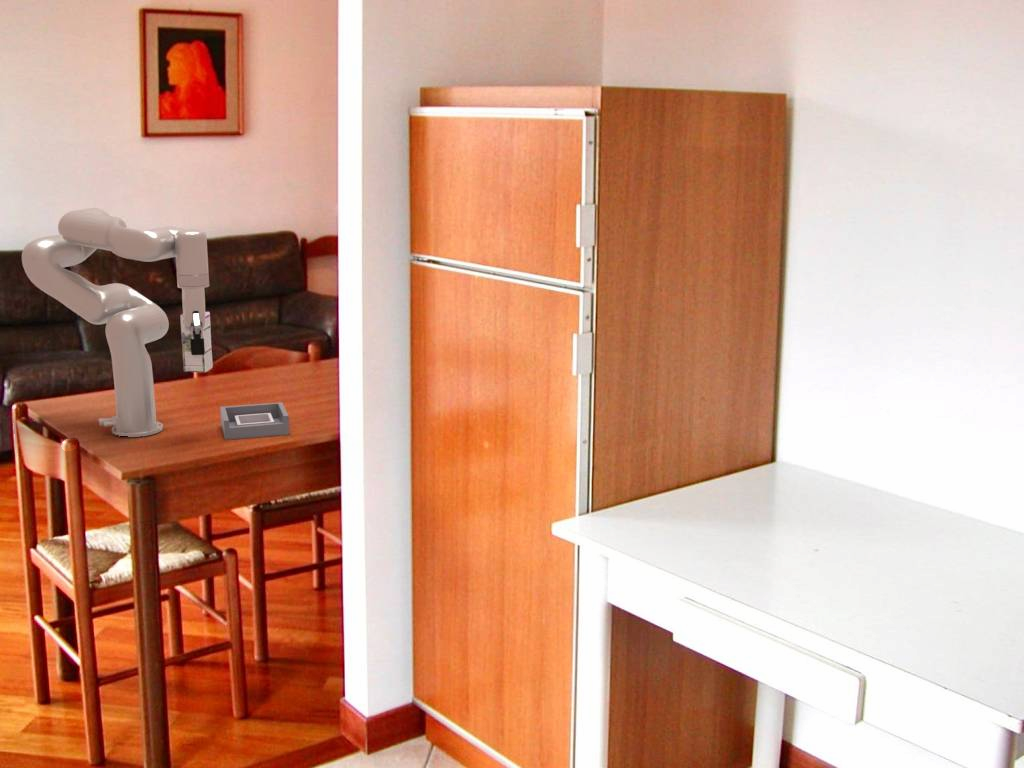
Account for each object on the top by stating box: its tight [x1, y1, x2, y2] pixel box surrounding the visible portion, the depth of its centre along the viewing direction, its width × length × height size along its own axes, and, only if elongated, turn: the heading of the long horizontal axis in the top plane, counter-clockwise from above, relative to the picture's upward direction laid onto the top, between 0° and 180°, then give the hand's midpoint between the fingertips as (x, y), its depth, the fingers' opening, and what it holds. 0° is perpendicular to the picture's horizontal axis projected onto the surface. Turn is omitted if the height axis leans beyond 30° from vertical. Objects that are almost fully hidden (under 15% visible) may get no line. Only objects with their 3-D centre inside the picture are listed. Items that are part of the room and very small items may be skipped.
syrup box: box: [179, 311, 214, 373], centre depth 292 cm, size 6×6×14 cm
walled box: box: [219, 401, 290, 441], centre depth 305 cm, size 16×14×5 cm
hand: (197, 350), depth 292 cm, fingers closed on syrup box, 7 cm apart
